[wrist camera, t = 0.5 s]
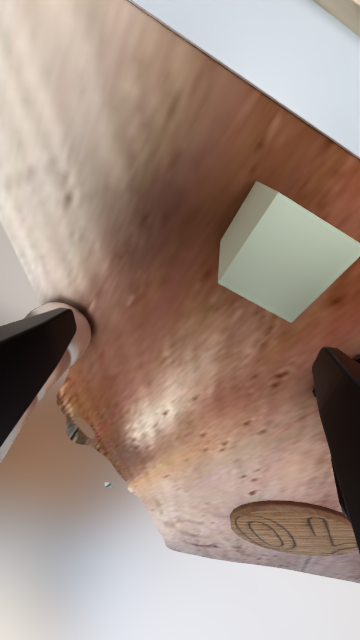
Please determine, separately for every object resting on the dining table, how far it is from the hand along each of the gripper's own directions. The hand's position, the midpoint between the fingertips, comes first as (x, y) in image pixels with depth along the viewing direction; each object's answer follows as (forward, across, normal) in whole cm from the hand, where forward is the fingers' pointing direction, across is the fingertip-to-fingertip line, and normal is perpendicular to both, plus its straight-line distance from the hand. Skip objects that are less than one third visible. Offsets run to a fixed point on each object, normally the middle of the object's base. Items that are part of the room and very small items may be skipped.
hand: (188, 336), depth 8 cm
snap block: (+12, -4, -2) cm, 13 cm away
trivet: (+14, -24, +56) cm, 63 cm away
